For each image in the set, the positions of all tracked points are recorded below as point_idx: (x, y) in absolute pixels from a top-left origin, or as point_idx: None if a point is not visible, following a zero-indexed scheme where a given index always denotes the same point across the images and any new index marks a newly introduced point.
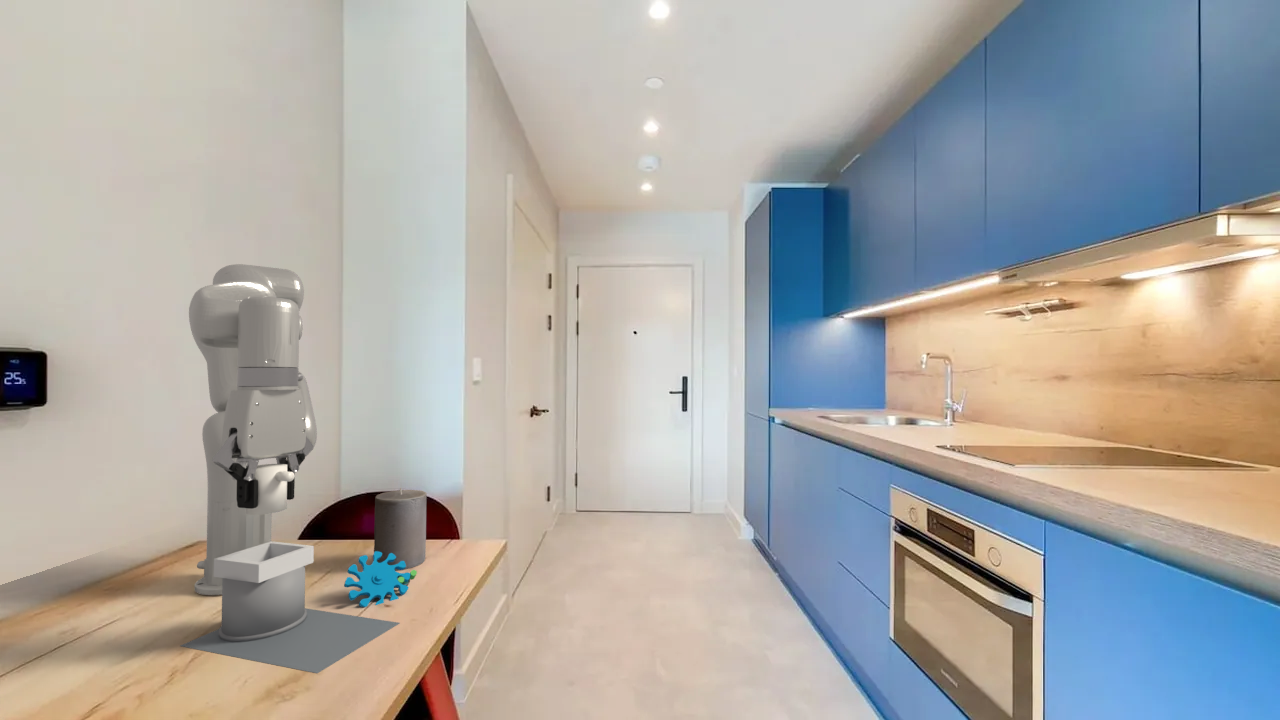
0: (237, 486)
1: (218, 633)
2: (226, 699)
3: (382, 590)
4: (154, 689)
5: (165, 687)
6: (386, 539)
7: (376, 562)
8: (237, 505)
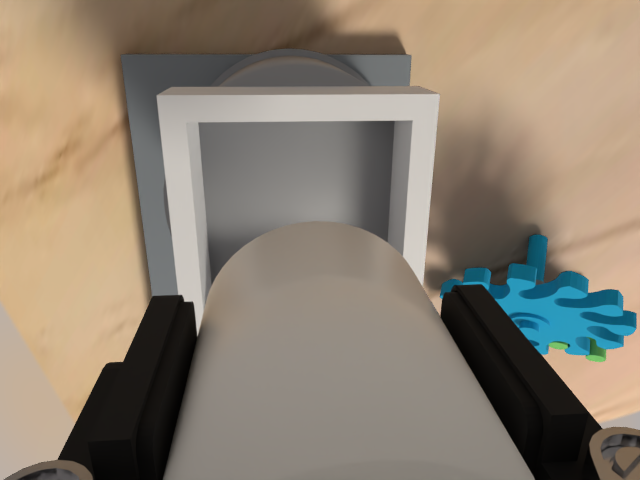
0: (67, 452)
1: (209, 85)
2: (65, 352)
3: None
4: (10, 185)
5: (27, 199)
6: None
7: (576, 312)
8: (153, 297)
